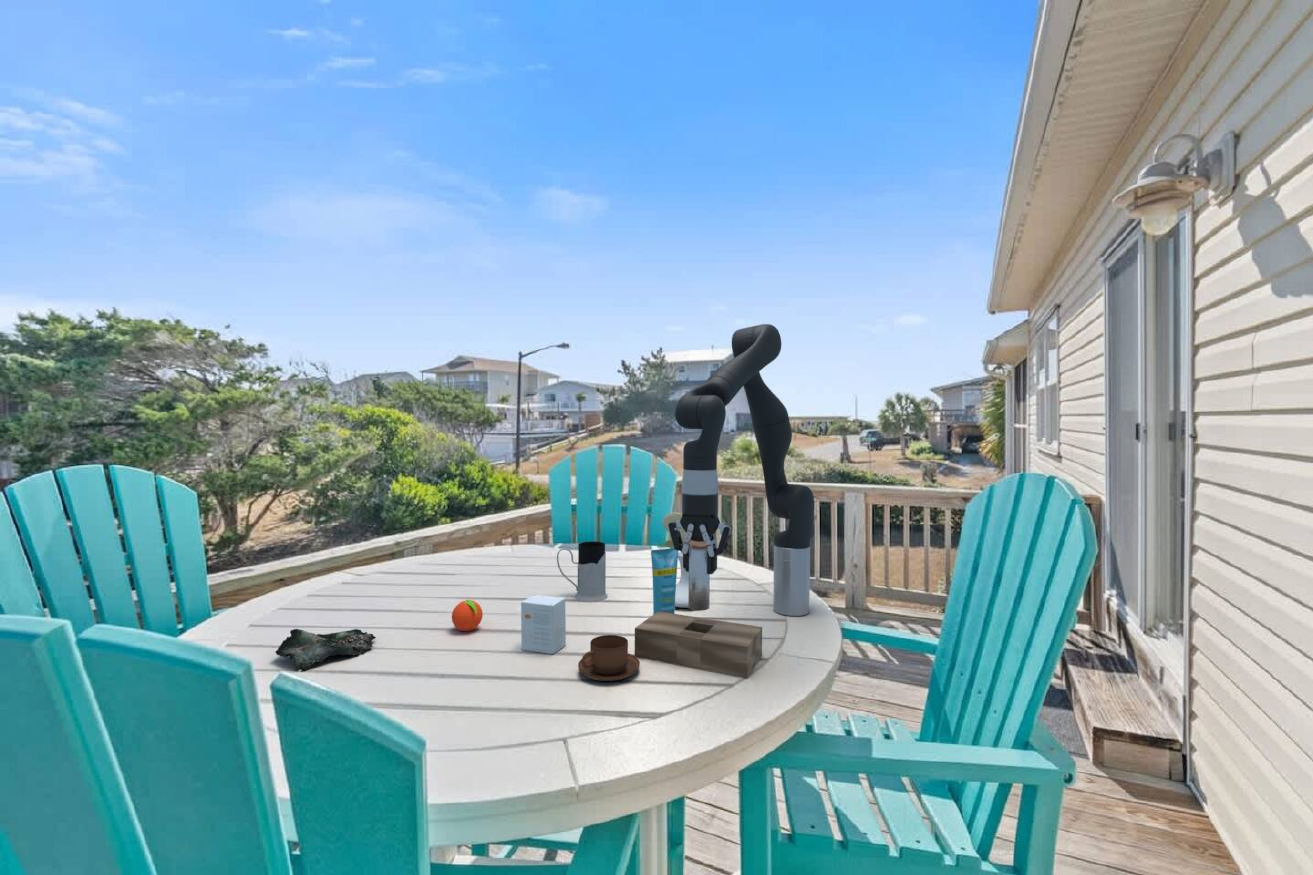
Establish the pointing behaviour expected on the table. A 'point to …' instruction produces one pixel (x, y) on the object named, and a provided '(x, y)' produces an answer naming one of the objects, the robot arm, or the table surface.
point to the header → (699, 643)
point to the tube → (664, 579)
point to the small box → (543, 624)
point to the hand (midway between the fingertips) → (699, 571)
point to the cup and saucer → (608, 659)
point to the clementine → (467, 615)
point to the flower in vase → (683, 584)
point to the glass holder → (590, 571)
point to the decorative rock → (322, 646)
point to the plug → (698, 575)
